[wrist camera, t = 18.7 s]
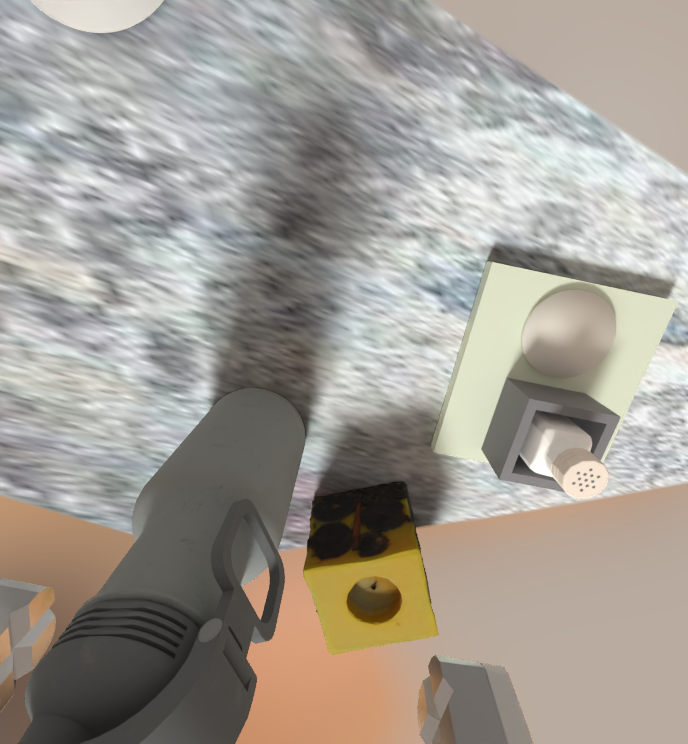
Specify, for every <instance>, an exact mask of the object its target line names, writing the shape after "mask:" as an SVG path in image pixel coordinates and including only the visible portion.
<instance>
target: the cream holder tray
mask: <svg viewBox="0 0 688 744" xmlns="http://www.w3.org/2000/svg"><path fill="white" fill-rule="evenodd" d="M678 302H679V301H674V300H670V299H665V298H660V297H655V296H651V295H646V294H641V293H636V292H632V291H627V290H622V289H618V288H613V287H608V286H603V285H599V284H594V283H589V282H585V281H580V280H575V279H570V278H566V277H561V276H556V275H551V274H547V273H542V272H537V271H533V270H528V269H523V268H518V267H514V266H509V265H504V264H499V263H495V262H489V261H487V262H486V265H485V268H484V272H483V275H482V278H481V282H480V285H479V288H478V292H477V295H476V298H475V301H474V305H473V308H472V311H471V315H470V318H469V321H468V324H467V328H466V331H465V334H464V338H463V341H462V344H461V347H460V351H459V354H458V357H457V361H456V364H455V367H454V370H453V374H452V377H451V380H450V384H449V387H448V390H447V393H446V397H445V400H444V403H443V407H442V410H441V413H440V416H439V420H438V423H437V426H436V430H435V433H434V436H433V439H432V443H431V447H432V449H433V452H434V453H438V454H444V455H449V456H454V457H459V458H464V459H469V460H475V461H480V462H485V463H490V465H491V466H492V468H493V470H494V471H495V473H496V475H497V476H498V478H499V479H500V480H506V481H511V482H516V483H521V484H527V485H532V486H537V487H542V488H547V489H553V490H558V491H563V492H565V491H564V490H563V489H562V487H561V486H560V485H559V484H558V483H557V481H556V480H555V479H554V478H553V477H550V476H546V475H542V474H539V473H535V472H534V471H533V470H531V469H530V468H529V467H528V466H527V464H526V463H525V462H524V460H523V459H522V458H521V456H520V455H519V453H520V450H521V447H522V445H523V442H524V440H525V437H526V435H527V432H528V429H529V427H530V424H531V422H532V419H533V417H534V414H535V411H536V410H539V411H544V412H549V413H554V414H559V415H564V416H567V417H568V418H569V419H570V420H571V421H573V422H574V423H575V424H576V425H577V426H579V427H580V428H581V429H582V430H583V431H585V432H586V433H587V434H588V435H589V436H591V439H592V447H591V451H590V452H591V453H592V454H593V455H594V456H595V457H597V458H598V459H599V460H600V461H601V462H602V463H603V462H604V459H605V457H606V455H607V453H608V451H609V449H610V447H611V445H612V442H613V440H614V438H615V436H616V434H617V432H618V430H619V427H620V425H621V423H622V421H623V419H624V417H625V415H626V413H627V410H628V408H629V406H630V404H631V402H632V400H633V398H634V395H635V393H636V391H637V389H638V387H639V385H640V383H641V381H642V378H643V376H644V374H645V372H646V370H647V368H648V366H649V363H650V361H651V359H652V357H653V355H654V353H655V351H656V349H657V346H658V344H659V342H660V340H661V338H662V336H663V334H664V331H665V329H666V327H667V325H668V323H669V321H670V319H671V317H672V314H673V312H674V310H675V308H676V306H677V304H678Z"/></svg>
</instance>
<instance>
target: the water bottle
mask: <svg viewBox="0 0 688 744" xmlns="http://www.w3.org/2000/svg"><path fill="white" fill-rule="evenodd" d="M304 446H305V428H304V425H303V422H302V419H301V417H300V415H299V413H298V412H297V410H296V409H295V408H294V407H293V405H292V404H291V403H290V402H288V401H287V400H286V399H285V398H283V397H282V396H280V395H278V394H276V393H274V392H271V391H268V390H265V389H259V388H245V389H240V390H236V391H234V392H231V393H229V394H227V395H225V396H224V397H223V398H221V399H220V400H219V401H218V402H217V403H216V404H215V405H214V406H213V407H212V409H211V410H210V411H209V412H208V413H207V414H206V416H205V417H204V418H203V419H202V420H201V421H200V423H199V424H198V425H197V426H196V427H195V428H194V429H193V431H192V432H191V433H190V434H189V435H188V436H187V438H186V439H185V440H184V441H183V442H182V443H181V445H180V446H179V447H178V448H177V449H176V450H175V452H174V453H173V454H172V455H171V456H170V457H169V458H168V460H167V461H166V462H165V463H164V464H163V465H162V467H161V468H160V469H159V470H158V471H157V472H156V474H155V475H154V476H153V477H152V478H151V479H150V481H149V482H148V483H147V484H146V485H145V487H144V488H143V490H142V491H141V493H140V495H139V497H138V499H137V501H136V504H135V507H134V511H133V516H132V526H133V535H134V539H135V543H134V545H133V546H132V547H131V549H130V550H129V551H128V553H127V554H126V556H125V557H124V558H123V560H122V561H121V562H120V564H119V565H118V566H117V568H116V569H115V570H114V572H113V573H112V575H111V576H110V577H109V579H108V580H107V581H106V583H105V584H104V586H103V587H102V588H101V590H100V591H99V592H98V594H97V595H96V596H94V597H92V598H91V599H89V600H88V601H86V602H85V603H84V604H83V605H82V607H81V608H80V609H79V610H78V611H77V612H76V614H75V616H74V619H73V620H72V622H71V623H70V624H69V625H68V627H67V628H66V630H65V632H63V633H62V635H61V636H60V637H59V640H58V641H57V642H56V643H55V644H54V645H53V647H52V649H51V650H50V651H49V652H48V653H47V654H46V655H45V656H44V657H43V658H42V659H41V661H40V662H39V663H38V665H37V666H36V667H35V669H34V670H33V672H32V673H31V676H30V677H29V680H28V682H27V686H26V692H25V704H26V710H27V712H28V714H29V717H30V719H31V721H32V722H31V724H30V725H29V727H28V728H27V730H26V732H25V733H24V735H23V737H22V738H21V740H20V742H19V743H18V744H235V743H236V741H237V738H238V736H239V734H240V732H241V730H242V728H243V726H244V724H245V722H246V720H247V718H248V715H249V711H250V708H251V704H252V701H253V696H254V692H255V688H256V683H257V677H256V674H255V673H254V671H253V669H252V668H251V666H250V664H249V663H248V661H247V659H246V657H247V654H248V650H249V646H250V642H251V641H252V642H253V643H261V642H265V641H269V640H270V639H271V638H272V637H273V635H274V632H275V628H276V623H277V618H278V613H279V608H280V604H281V598H282V594H283V589H284V583H285V575H284V567H283V563H282V560H281V557H280V555H279V553H278V551H277V549H278V547H279V544H280V541H281V539H282V535H283V531H284V527H285V523H286V519H287V515H288V510H289V506H290V502H291V498H292V494H293V490H294V486H295V482H296V478H297V474H298V470H299V466H300V462H301V458H302V454H303V450H304ZM267 567H269V573H270V585H269V591H268V595H267V599H266V603H265V607H264V611H263V615H262V618H261V620H260V619H259V618H258V616H257V614H256V612H255V610H254V609H253V607H252V605H251V603H250V601H249V600H248V598H247V596H246V594H245V592H244V591H243V589H242V587H241V586H243V585H245V584H247V583H249V582H250V581H252V580H254V579H255V578H257V577H258V576H259V575H260V574H261V573H262V572H263V571H264V570H265V569H266V568H267Z"/></svg>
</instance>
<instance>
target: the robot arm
mask: <svg viewBox="0 0 688 744" xmlns="http://www.w3.org/2000/svg"><path fill="white" fill-rule="evenodd" d="M30 1H31V2H32V3H33V4H34V5H35V6H36V7H37V8H39V9H40V10H41V11H42V12H44V13H45V14H47V15H48V16H50V17H51V18H53V19H54V20H56V21H58V22H60V23H62V24H64V25H66V26H69V27H72V28H74V29H78V30H81V31H86V32H93V33H109V32H116V31H120V30H124V29H127V28H129V27H132V26H134V25H136V24H138V23H139V22H141V21H143V20H144V19H146V18H147V17H148V16H149V15H151V14H152V13H153V12H154V11H155V10H156V9H157V8H158V7H159V6H160V5H161V4H162V2H163V1H164V0H30ZM54 600H55V598H54V589H53V588H48V587H43V586H39V585H33V584H29V583H24V582H19V581H14V580H9V579H4V578H0V712H1V711H2V709H3V708H4V707H5V706H6V704H7V703H8V702H9V700H10V699H11V698H12V696H13V695H14V694H15V683H16V680H17V679H18V678H20V677H21V676H23V675H25V674H26V673H28V672H29V671H31V670H33V669H34V667H35V666H36V664H37V663H38V662H39V660H40V659H41V658H42V656H43V655H44V654H45V652H46V650H47V648H48V646H49V644H50V642H51V640H52V638H53V634H54V630H55V626H56V622H55V621H56V620H55V615H54V614H53V613H52V612H51V610H50V609H49V607H50V606H51V604H52V603H53V602H54ZM429 673H430V676H429V677H428V678H426V679H425V680H423V682H422V685H421V688H420V691H419V699H418V723H419V732H420V736H421V737H422V739H423V740H424V742H425V744H534V743H533V741H532V738H531V735H530V732H529V729H528V727H527V724H526V721H525V718H524V715H523V713H522V710H521V707H520V705H519V702H518V699H517V696H516V693H515V690H514V688H513V685H512V682H511V679H510V677H509V674H508V672H507V671H506V669H505V668H504V667H501V666H497V665H490V664H484V663H479V662H477V661H470V660H464V659H458V658H452V657H445V656H439V655H435V656H433V657H432V658H431V661H430V663H429Z"/></svg>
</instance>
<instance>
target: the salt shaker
mask: <svg viewBox="0 0 688 744" xmlns="http://www.w3.org/2000/svg"><path fill="white" fill-rule="evenodd" d="M591 447H592V439H591V436H589V435H588V434H587V433H586V432H585V431H583V430H582V429H581V428H580V427H579V426H577V425H576V424H575V423H574V422H573V421H571V420H570V419H569V418H568V417H567V416H564V415H559V414H554V413H549V412H544V411H539V410H536V411H535V414H534V417H533V419H532V422H531V424H530V427H529V429H528V432H527V435H526V437H525V440H524V442H523V445H522V447H521V450H520V453H519V455H520V456H521V458H522V459H523V460H524V462H525V463H526V464H527V466H528V467H529V468H530V469H531V470H533V471H534V472H535V473H539V474H542V475H546V476H550V477H553V478H554V479H555V480H556V481H557V483H558V484H559V485H560V486H561V487H562V489H563V490H564V491H565V492H566V493H567V494H568V495H570V496H572V497H575V498H577V499H583V498H591V497H593V496H595V495H597V494H599V493H601V491H602V490H603V489H604V488H605V487H606V485H607V484H608V478H609V472H608V470H607V468H606V467H605V465H604V464H603V463H602V462H601V461H600V460H599V459H598V458H597V457H595V456H594V455H593V454H592V453H591V452H590V451H591Z"/></svg>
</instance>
